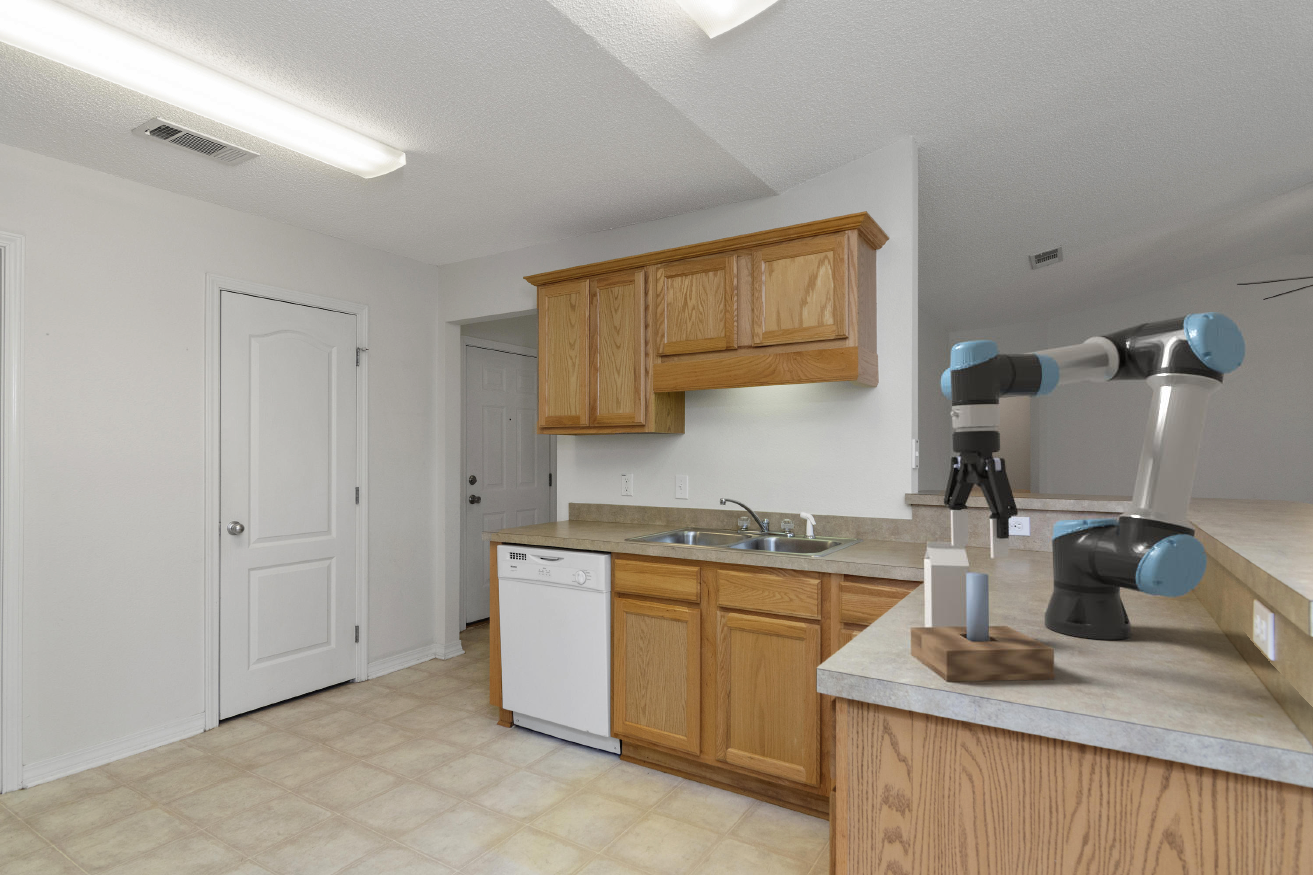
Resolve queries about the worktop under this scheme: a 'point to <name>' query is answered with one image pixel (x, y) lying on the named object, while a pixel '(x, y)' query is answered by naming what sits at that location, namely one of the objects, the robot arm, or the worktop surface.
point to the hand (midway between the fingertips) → (978, 551)
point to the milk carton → (945, 585)
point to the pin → (977, 607)
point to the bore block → (982, 654)
